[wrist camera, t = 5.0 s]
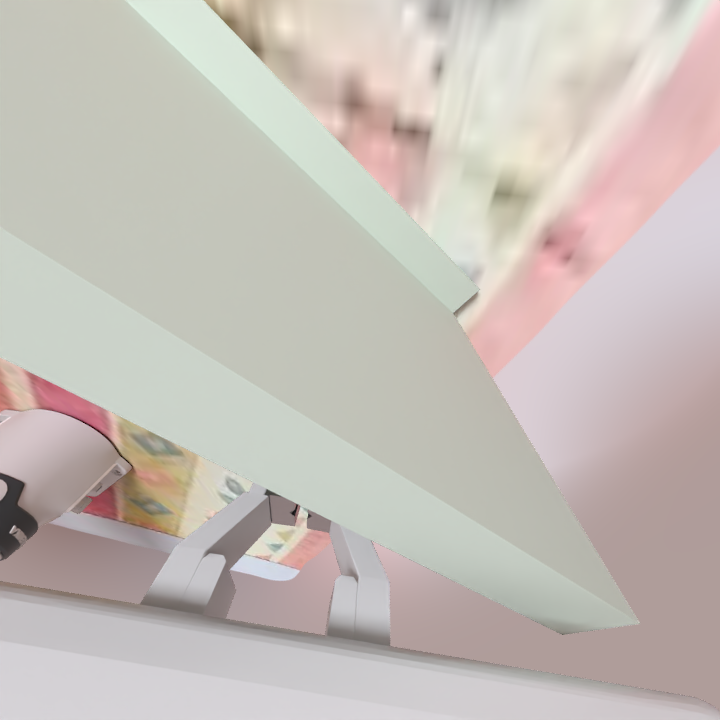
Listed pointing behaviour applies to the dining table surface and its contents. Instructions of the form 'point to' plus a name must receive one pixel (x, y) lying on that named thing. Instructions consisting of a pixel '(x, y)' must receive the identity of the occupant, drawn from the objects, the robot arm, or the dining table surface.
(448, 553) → the wall panel
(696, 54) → the dining table surface
